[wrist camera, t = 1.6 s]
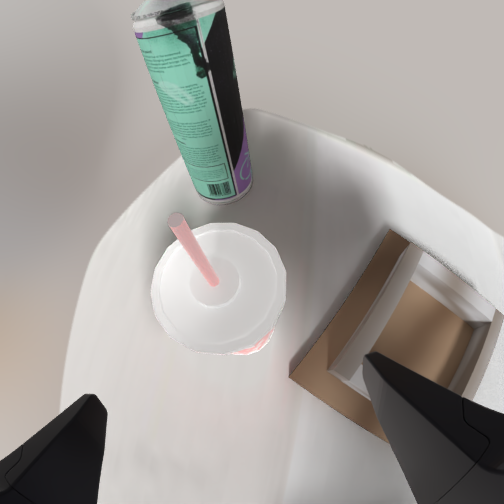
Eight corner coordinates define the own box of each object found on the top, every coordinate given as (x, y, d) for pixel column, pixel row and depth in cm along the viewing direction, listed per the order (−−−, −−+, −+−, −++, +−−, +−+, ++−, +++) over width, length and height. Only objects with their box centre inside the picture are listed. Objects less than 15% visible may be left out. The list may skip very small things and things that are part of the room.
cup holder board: (497, 319, 17) (520, 308, 14) (425, 463, 13) (447, 473, 10) (386, 234, 22) (399, 212, 19) (288, 377, 18) (290, 376, 15)
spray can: (264, 182, 25) (235, -45, 7) (216, 215, 24) (133, -21, 6) (231, 153, 28) (188, -38, 10) (186, 181, 26) (109, -12, 9)
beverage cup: (199, 291, 21) (102, 168, 9) (277, 278, 21) (267, 129, 9) (206, 369, 19) (77, 339, 6) (291, 358, 18) (313, 312, 6)
